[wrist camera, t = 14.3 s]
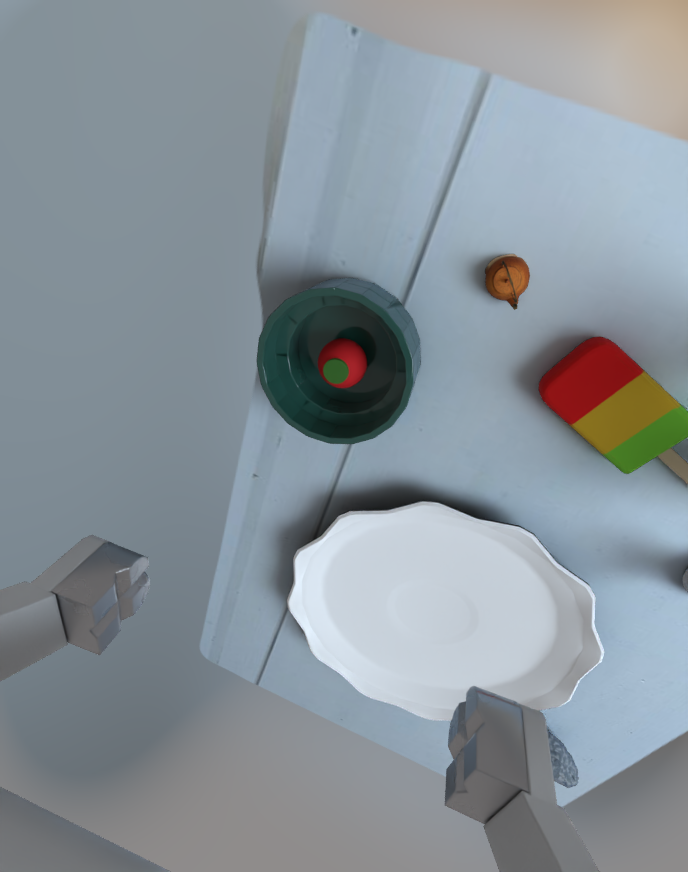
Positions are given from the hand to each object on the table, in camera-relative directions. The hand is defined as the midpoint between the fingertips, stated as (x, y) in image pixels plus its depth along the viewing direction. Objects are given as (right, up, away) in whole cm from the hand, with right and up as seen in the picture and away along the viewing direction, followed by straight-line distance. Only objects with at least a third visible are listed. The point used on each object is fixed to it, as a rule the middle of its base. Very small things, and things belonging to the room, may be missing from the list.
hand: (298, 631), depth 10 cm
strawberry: (+1, +11, +23) cm, 25 cm away
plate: (+10, -13, +34) cm, 37 cm away
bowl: (+2, +11, +23) cm, 26 cm away
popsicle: (+22, +5, +20) cm, 30 cm away
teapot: (+12, +15, +18) cm, 26 cm away
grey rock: (+23, -28, +38) cm, 52 cm away
